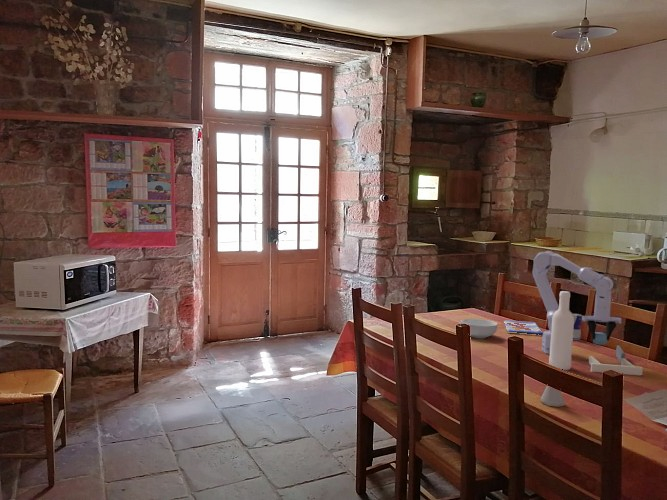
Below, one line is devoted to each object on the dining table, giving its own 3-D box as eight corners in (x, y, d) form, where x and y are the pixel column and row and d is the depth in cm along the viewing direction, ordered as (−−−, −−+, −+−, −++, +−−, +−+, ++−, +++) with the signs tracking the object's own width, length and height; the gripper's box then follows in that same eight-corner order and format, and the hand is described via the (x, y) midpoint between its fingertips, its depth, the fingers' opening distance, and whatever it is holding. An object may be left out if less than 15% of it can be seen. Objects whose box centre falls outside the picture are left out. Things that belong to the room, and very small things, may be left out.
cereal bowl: (500, 335, 256) (501, 321, 255) (491, 343, 242) (491, 327, 241) (466, 330, 265) (467, 316, 264) (455, 336, 251) (455, 322, 250)
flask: (536, 399, 173) (538, 369, 172) (557, 398, 174) (559, 369, 173) (547, 407, 166) (549, 376, 165) (569, 407, 167) (571, 376, 166)
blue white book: (536, 326, 280) (536, 321, 279) (544, 337, 257) (544, 331, 256) (502, 324, 283) (502, 318, 283) (506, 334, 260) (507, 329, 260)
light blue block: (595, 344, 216) (595, 334, 216) (591, 341, 221) (592, 331, 221) (608, 345, 215) (609, 335, 215) (604, 342, 220) (604, 332, 220)
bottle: (573, 367, 208) (579, 292, 206) (566, 371, 203) (571, 294, 200) (553, 362, 214) (558, 289, 211) (545, 366, 208) (550, 291, 206)
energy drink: (581, 341, 249) (583, 316, 248) (569, 340, 250) (571, 315, 249) (578, 338, 255) (580, 313, 254) (566, 337, 256) (568, 313, 255)
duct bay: (591, 371, 204) (592, 363, 204) (582, 362, 215) (583, 355, 215) (642, 375, 201) (642, 367, 201) (630, 366, 212) (630, 358, 212)
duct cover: (615, 355, 226) (616, 345, 226) (618, 355, 226) (619, 345, 225) (620, 364, 213) (621, 353, 213) (624, 364, 213) (625, 353, 213)
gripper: (586, 307, 214) (584, 340, 215) (625, 309, 212) (622, 343, 213) (581, 304, 221) (579, 336, 222) (618, 306, 219) (616, 338, 220)
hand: (600, 339), depth 218 cm, fingers closed on light blue block, 5 cm apart
